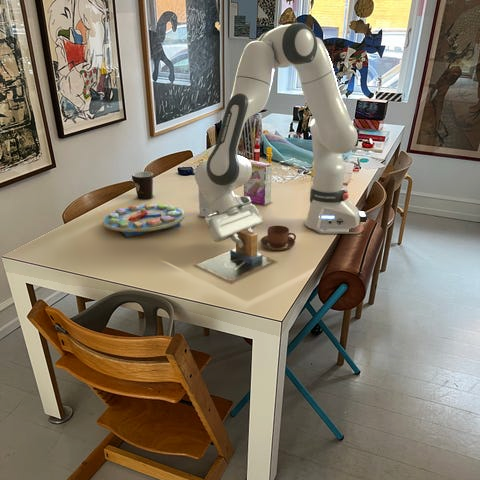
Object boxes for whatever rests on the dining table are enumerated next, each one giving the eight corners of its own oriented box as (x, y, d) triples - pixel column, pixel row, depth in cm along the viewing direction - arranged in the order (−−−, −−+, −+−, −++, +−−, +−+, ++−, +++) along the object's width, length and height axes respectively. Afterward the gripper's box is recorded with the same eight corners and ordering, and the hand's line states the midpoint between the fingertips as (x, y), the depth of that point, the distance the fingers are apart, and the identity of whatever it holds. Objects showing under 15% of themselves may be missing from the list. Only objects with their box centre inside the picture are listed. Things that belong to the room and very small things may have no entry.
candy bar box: (243, 200, 206) (243, 162, 198) (249, 197, 210) (250, 159, 201) (264, 206, 201) (265, 166, 192) (271, 202, 204) (272, 163, 195)
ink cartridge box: (226, 213, 193) (226, 177, 185) (223, 218, 188) (222, 182, 181) (203, 212, 195) (201, 176, 187) (199, 216, 190) (197, 180, 182)
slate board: (239, 247, 165) (239, 246, 165) (274, 262, 156) (274, 260, 155) (195, 266, 153) (195, 264, 153) (230, 282, 144) (230, 281, 143)
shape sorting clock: (167, 205, 201) (166, 191, 198) (197, 229, 179) (197, 214, 176) (94, 218, 189) (92, 203, 185) (117, 246, 166) (115, 229, 163)
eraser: (230, 255, 159) (229, 230, 154) (240, 251, 162) (240, 225, 157) (252, 265, 153) (252, 238, 148) (262, 260, 156) (263, 234, 151)
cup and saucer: (290, 238, 172) (291, 222, 169) (298, 252, 162) (299, 235, 159) (257, 240, 171) (257, 223, 167) (263, 254, 161) (264, 237, 157)
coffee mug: (157, 199, 208) (154, 176, 203) (137, 201, 206) (134, 178, 200) (151, 191, 217) (148, 169, 212) (132, 193, 215) (129, 171, 209)
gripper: (206, 211, 146) (229, 250, 145) (252, 195, 158) (273, 231, 158) (197, 221, 151) (219, 258, 150) (243, 205, 163) (263, 240, 163)
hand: (247, 244), depth 154 cm, fingers closed on eraser, 3 cm apart
